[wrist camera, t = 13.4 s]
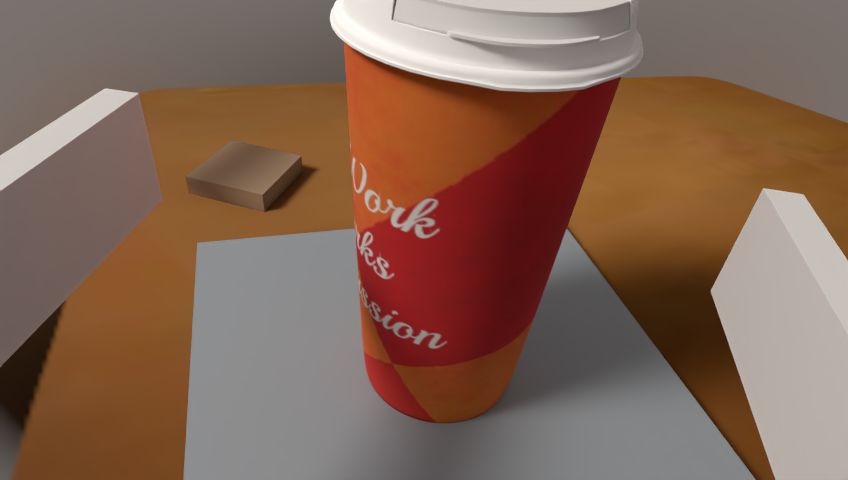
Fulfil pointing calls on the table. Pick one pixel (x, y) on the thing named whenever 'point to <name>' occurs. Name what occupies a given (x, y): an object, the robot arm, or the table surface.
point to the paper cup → (468, 178)
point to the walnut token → (245, 175)
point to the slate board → (402, 435)
